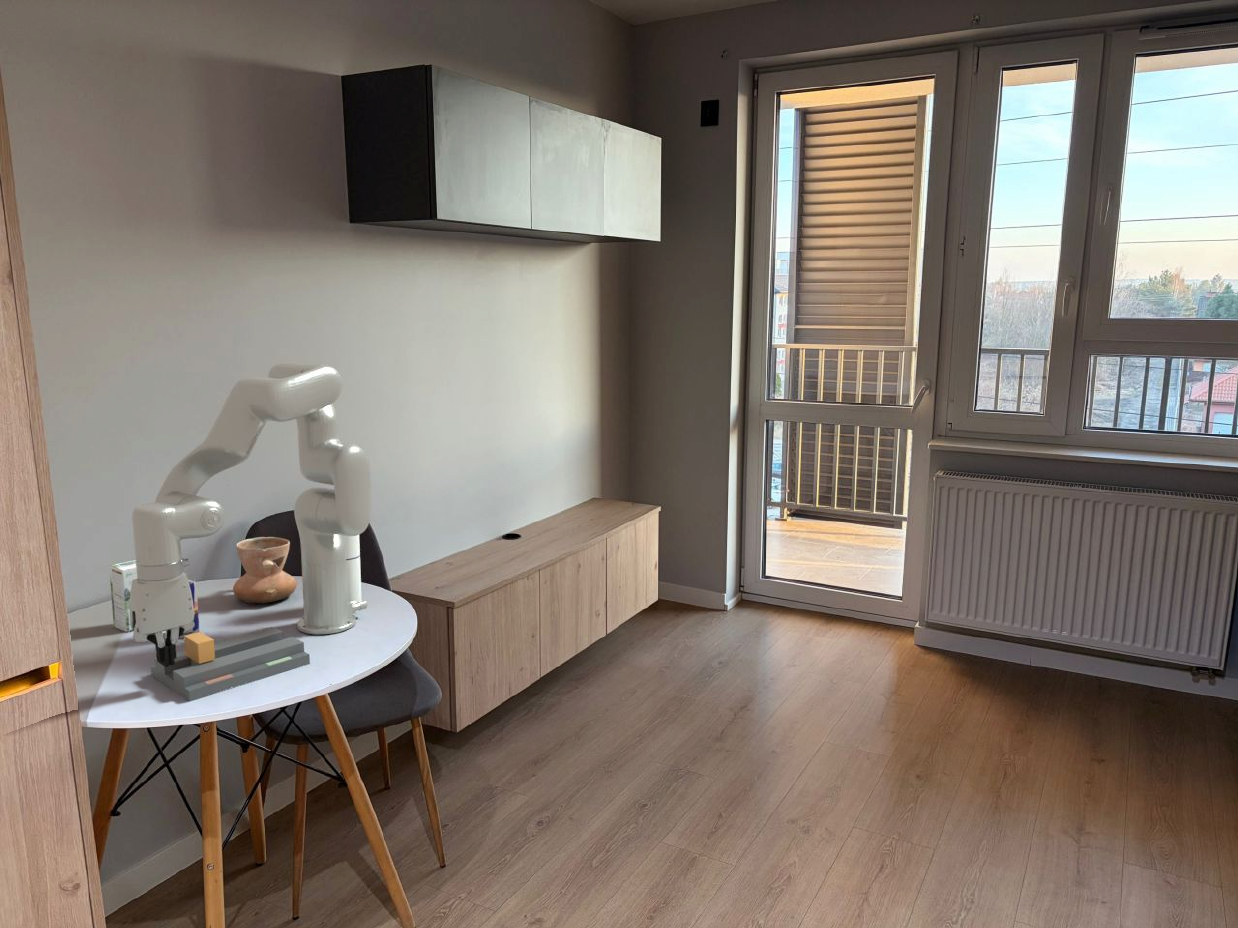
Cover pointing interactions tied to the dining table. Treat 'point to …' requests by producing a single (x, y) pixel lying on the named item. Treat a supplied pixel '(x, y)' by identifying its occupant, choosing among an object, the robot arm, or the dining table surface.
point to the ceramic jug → (264, 570)
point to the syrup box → (122, 593)
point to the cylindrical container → (353, 568)
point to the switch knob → (199, 648)
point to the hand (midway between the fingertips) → (166, 663)
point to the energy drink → (195, 604)
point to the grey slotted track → (233, 663)
